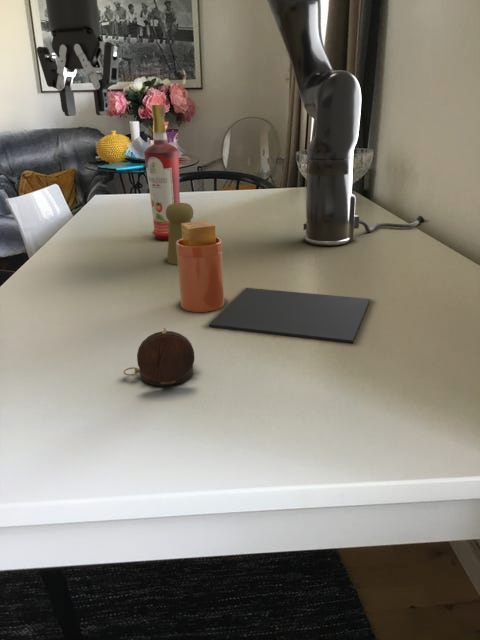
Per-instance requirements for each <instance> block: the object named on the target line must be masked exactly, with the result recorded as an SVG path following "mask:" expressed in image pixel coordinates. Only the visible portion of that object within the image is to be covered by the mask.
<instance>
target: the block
mask: <svg viewBox="0 0 480 640" xmlns="http://www.w3.org/2000/svg"><path fill="white" fill-rule="evenodd" d="M181 228H182V242H183V245H184V246H192V247H197V246H208V245H213V244H216V237H217V235H216V225H215V224H213V223H211V222H210V221H208V220H200V221H199V220H198V221H191V222H189V223H181Z"/></svg>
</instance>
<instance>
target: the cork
mask: <svg viewBox="0 0 480 640" xmlns="http://www.w3.org/2000/svg"><path fill="white" fill-rule="evenodd" d="M166 217H167V219H168V220H169V240H167V241H168V243H167V244H168V245H167V261H166V262H167V263H168V264H171V265H177V266H178V260H177V252H176V242H177V240H179V239H182V228H181V223H189V222H192V219H194V209H193V206H192V205H191V204H190V203H186V202H180V203H174V204H171V205H169V206H168V207H167V209H166Z"/></svg>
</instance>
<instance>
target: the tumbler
mask: <svg viewBox="0 0 480 640" xmlns="http://www.w3.org/2000/svg"><path fill="white" fill-rule="evenodd" d="M176 252H177V260H178V265H177V269H178V270H177V272H178V285H179V286H178V287H179V299H180V307H181V308H182V309H183V310H185V311H188V312H193V313H206V312H213V311H217V310H219V309H221V308H222V307H224V306H225V292H224V291H225V289H224V266H223V265H224V264H223V240H222V239H221V238H220V237H218V236H216V244H213V245H208V246H197V247H192V246H184V245H183V242H182V239H179V240H177V242H176Z"/></svg>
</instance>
